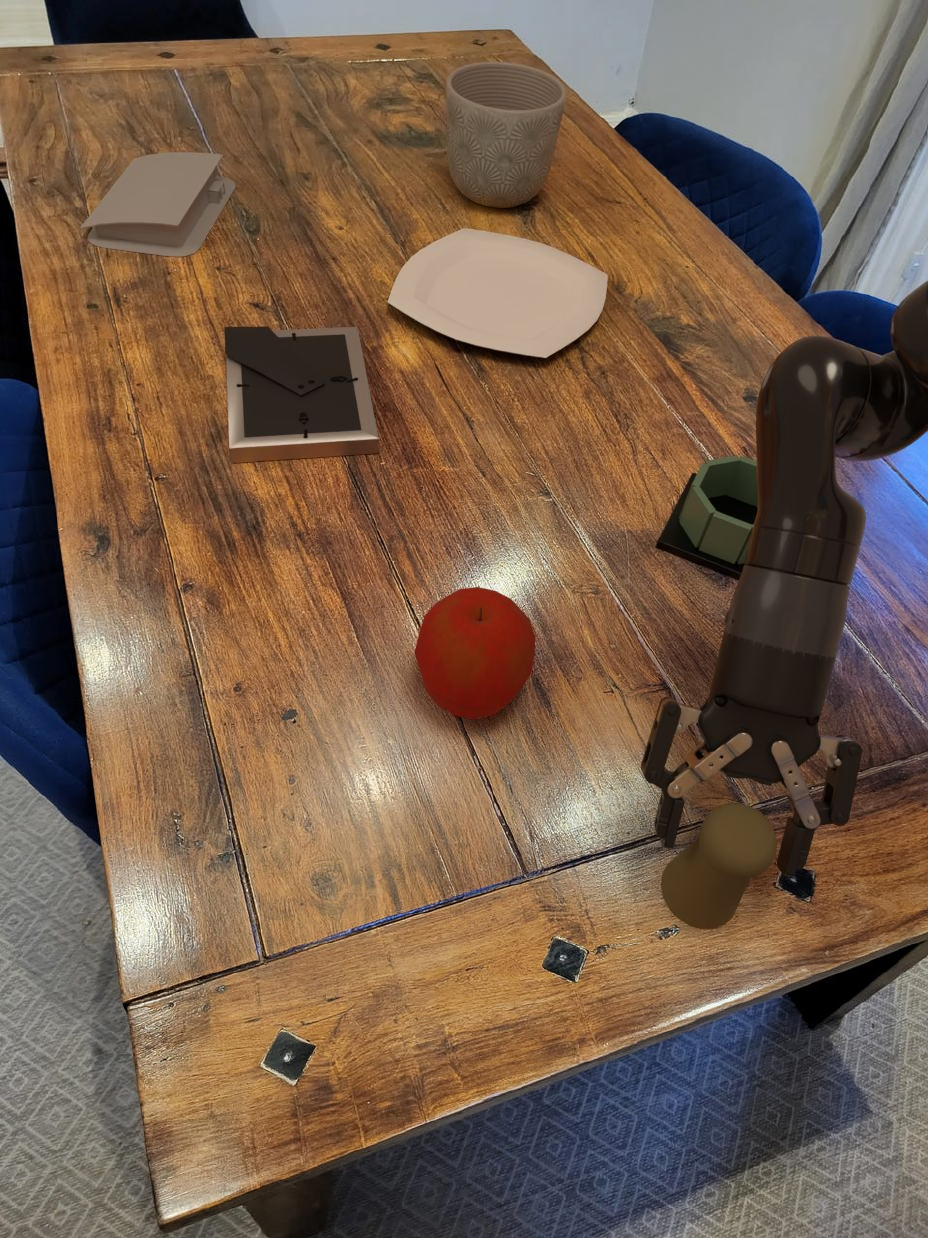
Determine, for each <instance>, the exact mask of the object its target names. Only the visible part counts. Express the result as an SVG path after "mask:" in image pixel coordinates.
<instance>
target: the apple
mask: <svg viewBox="0 0 928 1238" xmlns="http://www.w3.org/2000/svg"><path fill="white" fill-rule="evenodd" d="M414 648H415V649H414V651H413V653H414V656H415V659H416V663H417V667H418V669H419V673H420V677H421V680H422V683H423V687H424V689H425V692H426V694H427V695H428V696H429V697H430V698H431V699H432V701H433V702H434V703H435V704H436V705H437V707H439V708H440V709H442V710H444V711H446V712H447V713H449V714H451V715H452V716H454V717H458V718H464V719H469V720H478V719H482V718H486V717H490V716H494V715H495V714H497V713H499V712H500V711H501V710H503V709H504V708H506V707H507V706H508V705H509V704H511V702H512V701H513V700H514V699H515V697H516V696H517V695H518V694H519V693H520V691H521V690H522V688H523V687H524V686H525V684H526V682H527V681H528V680H529V678H530V676H531V675H532V671H533V665H534V661H535V656H536V635H535V631H534V628H533V625H532V623H531V620H530V618H529V617H528V615H526V613H525V612H524V611H523V610H522V609H521V608H520V607H519V606H518V605H517V604H516V603H515V602H514V600H513V599H512V598H510V597H509V596H506V595H505V594H503V593H500V592H499V591H497V590H494V589H489V588H484V587H479V586H475V587H465V588H464V587H463V588H459V589H458V590H455V591H454V592H452V593H449V595H447V596H445V597H443V598H442V599H440V600H438V601H436V602H435V604H433V606H432V607H431V608H430V609H429V610H428V611H427V612H426V613H425V614H424V615H423V618H422V622H421V625H420V629H419V632H418V636H417V640H416V645H415V647H414Z"/></svg>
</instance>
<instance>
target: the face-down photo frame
mask: <svg viewBox="0 0 928 1238" xmlns="http://www.w3.org/2000/svg"><path fill="white" fill-rule="evenodd" d="M224 353H225V363H226V364H225V365H226V366H225V368H226V369H225V370H226V396H227V397H226V398H227V427H228V428H227V429H228V450H229V456H230V461H231V464H242V463H255V462H271V461H272V462H273V461H285V460H299V459H301V460H302V459H313V458H315V459H317V458H331V457H344V456H345V457H346V456H358V455H359V456H361V455H373V454H380V438H379V433H378V428H377V421H376V417H375V411H374V406H373V403H372V402H373V401H372V395H371V390H370V385H369V379H368V375H367V368H366V364H365V358H364V353H363V348H362V343H361V337H360V332H359V326H343V327H341V326H340V327H318V328H299V329H274V330H273V329H271V328H270V327H269V326H267V325H265V326H263V325H259V326H258V325H257V326H255V325H254V326H224Z"/></svg>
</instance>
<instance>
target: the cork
mask: <svg viewBox="0 0 928 1238" xmlns="http://www.w3.org/2000/svg"><path fill="white" fill-rule="evenodd" d="M777 852H778V838H777V835H776V831H775V829H774V827H773V825H772V824H771V822H770V820H769V819H768V817H766V816H765V815H764V814H763V813H762V812H761V811H760V810H758V809H756V808H755V807H753V806H750V805H747V804H744V803H739V802H727V803H725V804H721V805H718V806H717V807H715V808H713V809H712V810H711V811H710V812H708V814H706V816H705V818H704V819H703V821H702V823H701V825H700V828H699V835H698V837H697V839H695V840H694V841H693V842H692V843H691V844H689V845H688V846H687V847H686V848H684V849H683V850H682V851H681V852H680V853H678V855H676V856H675V857H674V858H673V859H671V861H669V862H668V863H667V864H666V865H665V868H664V869H663V871H662V875H661V882H660V887H661V893H662V898H663V900H664V901H665V903H666V905H667V908H668V909H669V910H670V911H671V912H672V913H673V915H674V916H675V917H676V918H677V919H679V920H680V921H682V922H683V923H685V924H686V925H688V926H690V927H693V928H697V929H700V930H714V929H717V928H720V927H722V926H725V925H726V924H727V923H728V922H729V921H730V920H732V919H733V917H734V915H735V913H736V912H737V909H738V907H739V905H740V902H741V901H742V898H743V896H744V894H745V892H746V890H747V888H748V886H749V883H750V881H751V879H753V878H756V877H759V876H762V874H763V873H764V872H766V871H767V870H769V868H770V867H771V866H772V864H773V862H774V860H775V858H776V856H777Z"/></svg>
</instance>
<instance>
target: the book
mask: <svg viewBox="0 0 928 1238" xmlns="http://www.w3.org/2000/svg"><path fill="white" fill-rule="evenodd" d="M223 158H224V154H218V153H212V152H193V151H186V152H185V151H179V152H178V151H176V152H173V151H171V152H169V151H168V152H160V153H151V154H147V155H142V156H139V157H134V158H133V159H132V160H131V162H129V164H128V166H127V167H126V168H125V170H124V171H123V172H122V173H121V175H120V176H119V177H118V178H117V180H116V181H115V182H114V184H113V185H112V186H111V188H109V190H108V192H107V193H106V194H105V195H104V197H103V198H102V199H101V200H100V202H98V204H97V205H96V207H95V208H94V209H93V211H92V212H91V213H90V214H89V215H88V217H87V218H86V219H85V221H84V222H83V223H82V225H81V226H80V227H79V230H85V229H89V228H92V229H91V230H90V231H89V233H88V234H87V241H88V242H89V243H90V244H91V245H92V246H94V247H95V246H96V247H99V248H102V249H107V250H108V249H109V250H115V251H116V250H117V251H123V252H124V251H125V252H132V253H139V254H146V255H153V256H161V257H163V256H164V257H170V258H183V257H188V256H192V255H194V254H195V253H196V252H198V251H199V250H200V249H201V247H202V245H203V244H204V242H205V240H206V239H207V237H208V236H209V234H210V232H211V231H212V228H213V226H214V225H215V223H216V222H217V220H218V218H219V216H220V215H221V213H222V211H223V210H224V208H225V207H226V205H227V203H228V202H229V200H230V198H231V197H232V194H233V193H234V191H235V190H236V187H237V186H236V182H235V181H233V180H232V179H231V178H227V177H224V176H219V175H218V173H219V172H218V166H219V164H220V162H222V159H223Z"/></svg>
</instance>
